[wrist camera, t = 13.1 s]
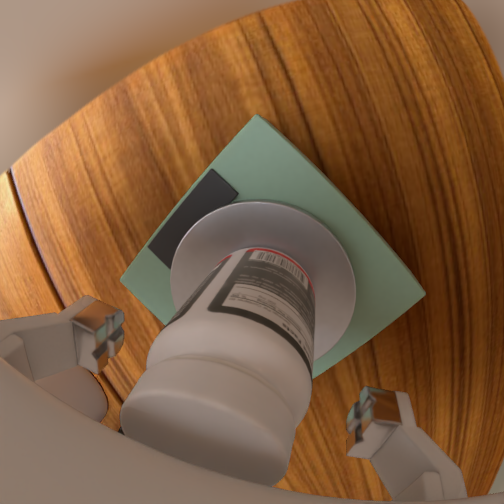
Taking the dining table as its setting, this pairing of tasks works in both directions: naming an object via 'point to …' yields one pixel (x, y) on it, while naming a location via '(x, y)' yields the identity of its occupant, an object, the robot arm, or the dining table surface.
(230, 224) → the scale pan
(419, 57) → the dining table surface
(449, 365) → the dining table surface
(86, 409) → the mug
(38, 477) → the robot arm
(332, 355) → the scale
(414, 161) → the dining table surface
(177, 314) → the pill bottle
